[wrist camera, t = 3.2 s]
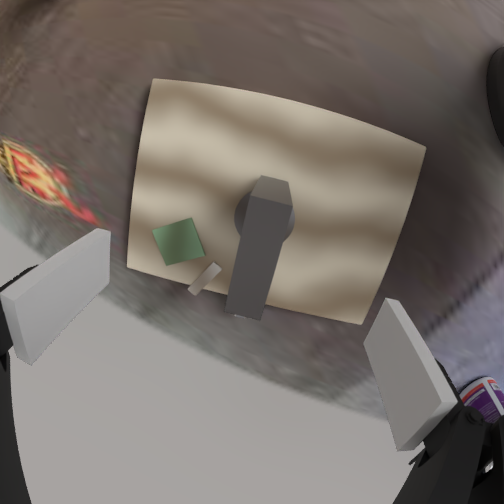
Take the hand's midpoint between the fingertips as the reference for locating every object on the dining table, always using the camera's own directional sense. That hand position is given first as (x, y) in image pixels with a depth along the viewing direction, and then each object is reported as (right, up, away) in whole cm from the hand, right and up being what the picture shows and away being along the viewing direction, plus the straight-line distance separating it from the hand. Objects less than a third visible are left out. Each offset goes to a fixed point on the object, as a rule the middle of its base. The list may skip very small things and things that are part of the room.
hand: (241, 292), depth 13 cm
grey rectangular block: (+1, +2, +12) cm, 13 cm away
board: (+2, +6, +13) cm, 14 cm away
